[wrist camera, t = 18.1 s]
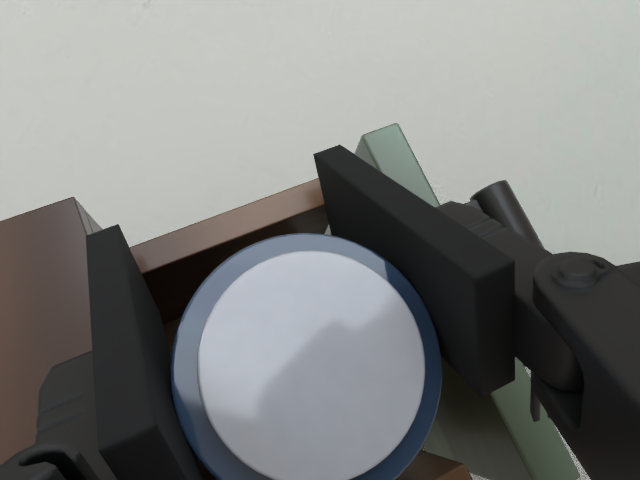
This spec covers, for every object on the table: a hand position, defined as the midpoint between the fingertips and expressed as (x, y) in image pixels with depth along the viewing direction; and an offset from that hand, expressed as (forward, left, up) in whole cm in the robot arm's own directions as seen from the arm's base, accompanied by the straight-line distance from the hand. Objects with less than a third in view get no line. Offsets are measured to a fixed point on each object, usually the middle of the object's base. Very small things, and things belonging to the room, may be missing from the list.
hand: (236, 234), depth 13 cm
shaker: (0, +4, -4) cm, 5 cm away
